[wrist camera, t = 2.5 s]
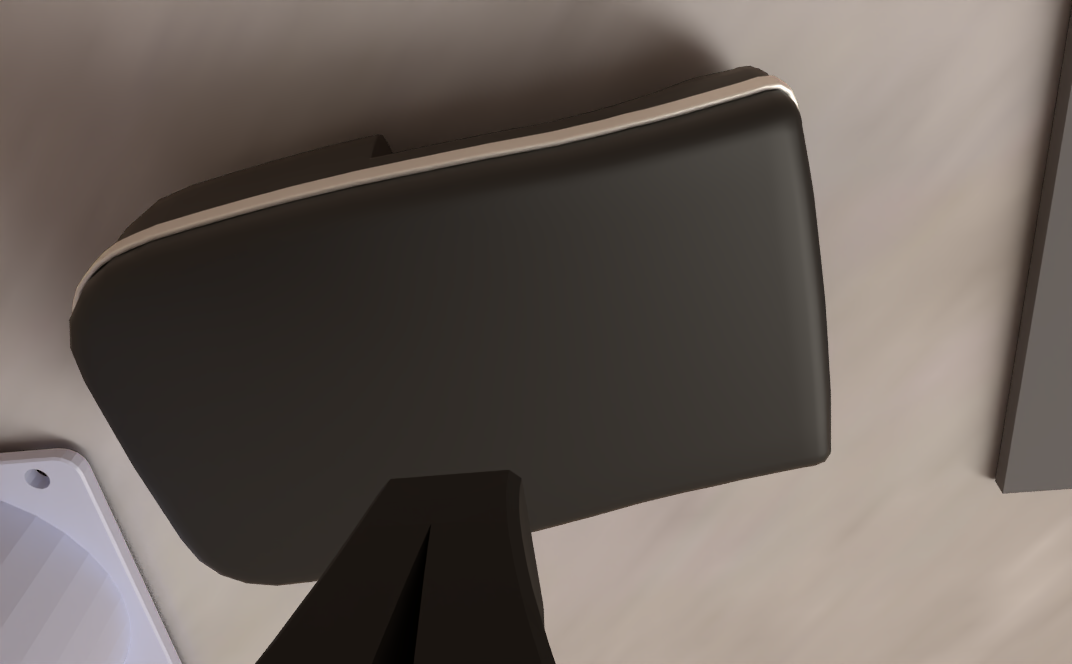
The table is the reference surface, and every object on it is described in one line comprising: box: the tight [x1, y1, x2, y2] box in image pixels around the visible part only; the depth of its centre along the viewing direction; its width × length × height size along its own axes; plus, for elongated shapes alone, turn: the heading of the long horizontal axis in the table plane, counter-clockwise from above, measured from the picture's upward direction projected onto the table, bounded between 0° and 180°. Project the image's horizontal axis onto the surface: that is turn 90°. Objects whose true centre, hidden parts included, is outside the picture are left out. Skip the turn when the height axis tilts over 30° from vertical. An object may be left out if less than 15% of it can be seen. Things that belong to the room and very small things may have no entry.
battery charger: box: [69, 66, 831, 586], centre depth 16 cm, size 7×4×11 cm
